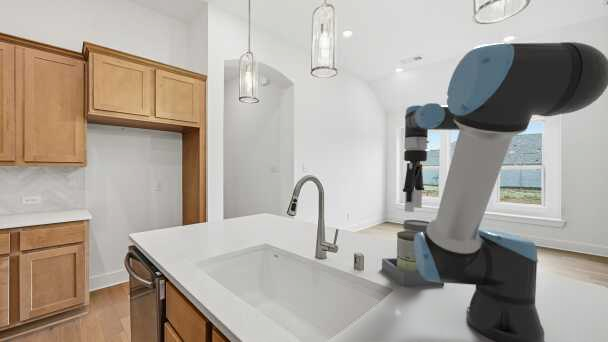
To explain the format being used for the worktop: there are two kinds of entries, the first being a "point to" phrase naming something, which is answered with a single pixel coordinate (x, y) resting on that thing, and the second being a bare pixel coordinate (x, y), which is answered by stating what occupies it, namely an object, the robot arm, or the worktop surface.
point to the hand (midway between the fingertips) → (413, 209)
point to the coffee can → (406, 252)
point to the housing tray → (404, 274)
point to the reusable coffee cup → (415, 225)
